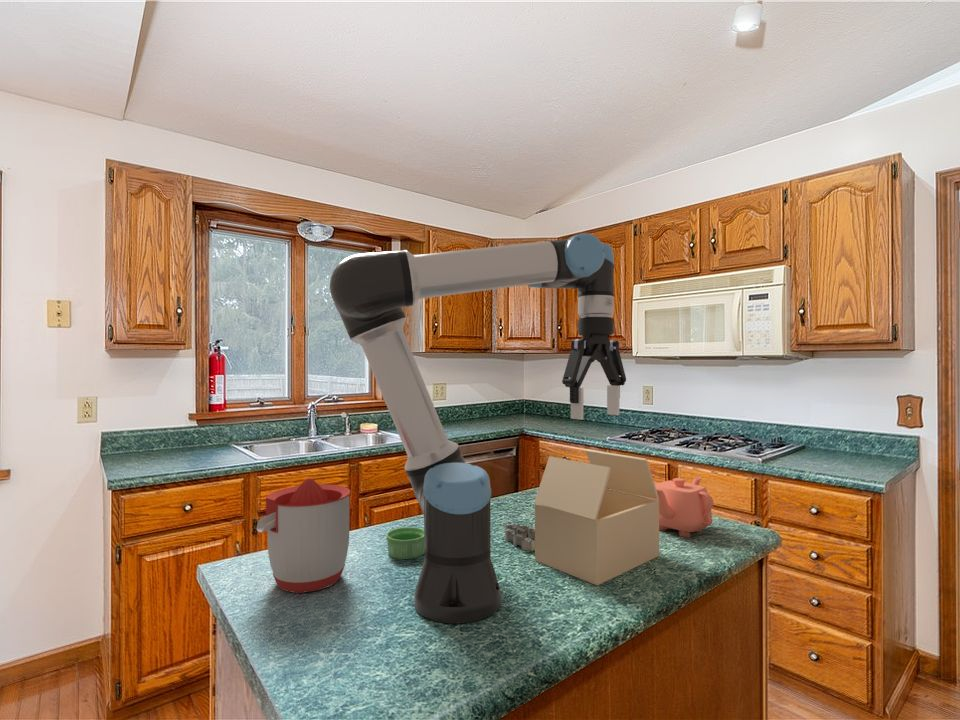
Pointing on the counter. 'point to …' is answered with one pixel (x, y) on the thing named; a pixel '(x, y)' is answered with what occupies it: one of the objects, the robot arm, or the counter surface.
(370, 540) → the counter surface
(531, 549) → the egg carton
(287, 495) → the citrus juicer
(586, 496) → the near flap
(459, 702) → the counter surface
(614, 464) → the far flap
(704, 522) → the teapot
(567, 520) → the carton
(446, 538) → the robot arm
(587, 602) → the counter surface
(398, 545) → the ramekin
